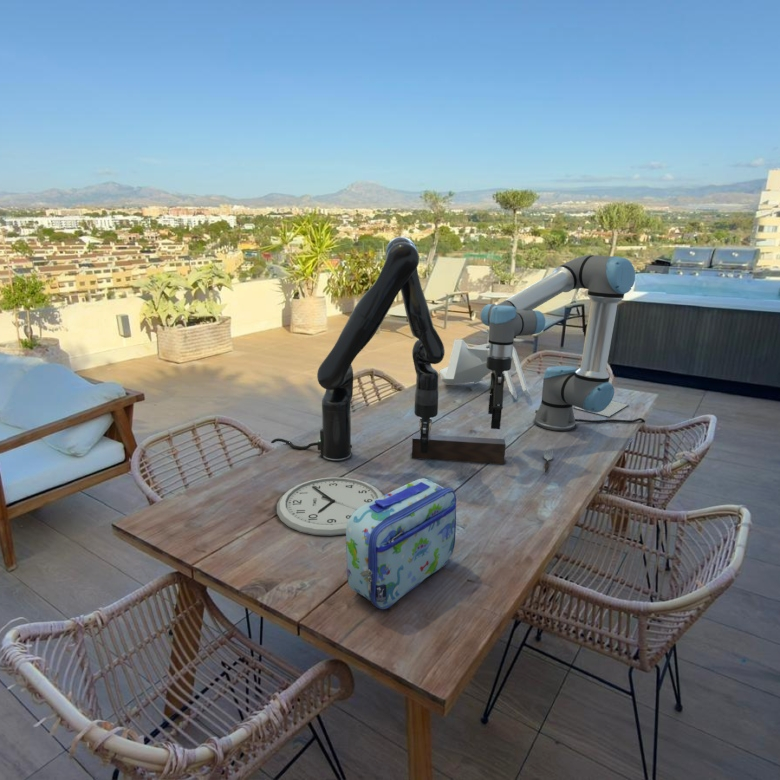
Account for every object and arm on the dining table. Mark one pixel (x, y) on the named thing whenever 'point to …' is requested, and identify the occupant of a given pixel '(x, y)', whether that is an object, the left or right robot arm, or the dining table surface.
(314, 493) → the wall clock
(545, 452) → the fork
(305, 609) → the dining table surface
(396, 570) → the lunch box
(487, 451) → the walnut beam
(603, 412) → the invitation card
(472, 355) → the white plastic object
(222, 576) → the dining table surface
